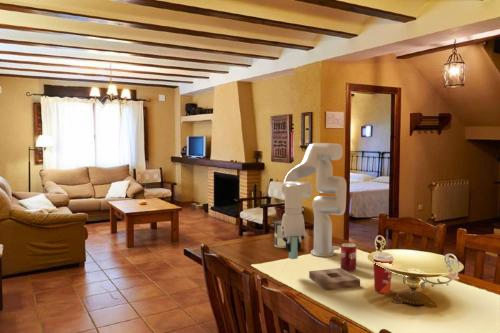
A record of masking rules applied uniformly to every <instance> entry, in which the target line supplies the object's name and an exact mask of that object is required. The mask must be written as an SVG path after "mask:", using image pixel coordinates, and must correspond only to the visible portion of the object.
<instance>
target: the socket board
mask: <svg viewBox="0 0 500 333" xmlns="http://www.w3.org/2000/svg"><path fill="white" fill-rule="evenodd" d="M308 272H309V273H308V278H309V279H310V280H312V281H313V282H314V283H315V284H317V285H318V286H320V287H321V288H322V289H324V290H325V291H331V290H341V289H348V288H355V287H356V288H358V287H361V279H360V278H358V277H357V276H355V275H353V274H352V273H351V272H347V271H345V270H343V269H342V268H341V267H339V268H329V269H318V270H309V271H308Z"/></svg>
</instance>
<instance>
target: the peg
mask: <svg viewBox="0 0 500 333" xmlns="http://www.w3.org/2000/svg"><path fill="white" fill-rule="evenodd" d="M290 244H291V252H288V259H290V260H297V259H298V258H299V256H298V252H299V251H298V236H294V237H290Z"/></svg>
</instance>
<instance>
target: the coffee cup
mask: <svg viewBox="0 0 500 333" xmlns="http://www.w3.org/2000/svg"><path fill="white" fill-rule="evenodd" d="M372 259H373V262H374V261H375V262H381V263H389V264H392V263H393V262H394V259H395V258H394V256H393V254H390V253H387V252H375V253H373V256H372ZM392 265H393V264H392ZM392 272H393V271H392ZM392 272H390V271H388V270H386V269H384V268H382V267H380V266H378V265H376V263H375V264H374V263H373V279H374V280H373V281H374V282H373V283H374V291H375V292H377V293H379V294H389V293H391V284H392V276H393V273H392Z"/></svg>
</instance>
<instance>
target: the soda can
mask: <svg viewBox="0 0 500 333" xmlns="http://www.w3.org/2000/svg"><path fill="white" fill-rule="evenodd" d="M357 249H358V246H357V245H356V244H354V243H351V242H350V243H348V242H347V243H346V242H345V243H342V244H341V245H340V268H342V269H343V270H345V271H347V272H349V273H351V272H355V271H357V253H358V252H357Z"/></svg>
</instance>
